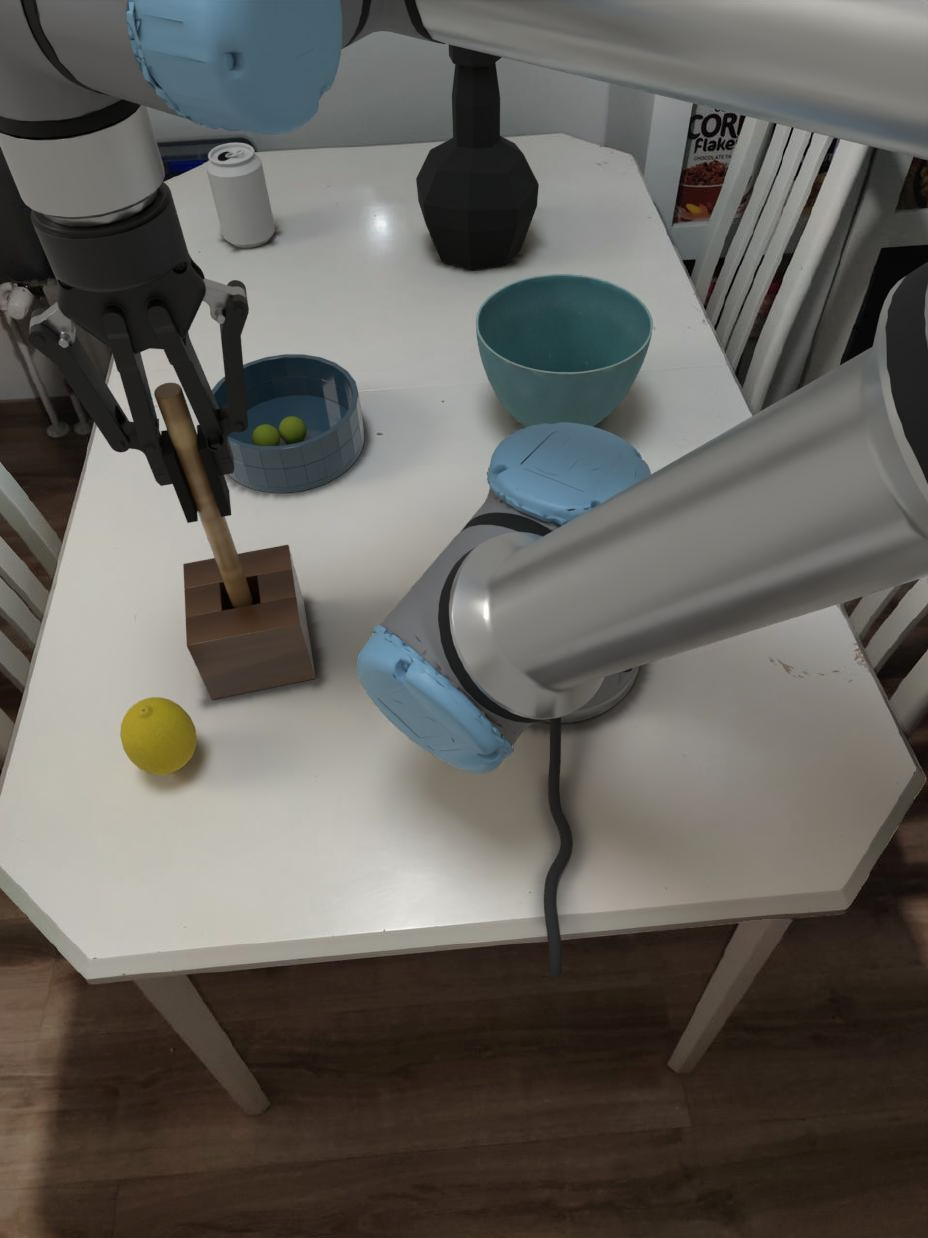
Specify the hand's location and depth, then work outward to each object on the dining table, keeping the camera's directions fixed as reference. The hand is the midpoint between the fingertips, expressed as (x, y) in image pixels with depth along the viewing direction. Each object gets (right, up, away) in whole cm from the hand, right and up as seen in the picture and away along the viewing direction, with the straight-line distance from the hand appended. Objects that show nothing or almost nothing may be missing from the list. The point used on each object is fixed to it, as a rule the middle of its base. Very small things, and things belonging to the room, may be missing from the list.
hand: (208, 506), depth 65 cm
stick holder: (0, -11, +14) cm, 18 cm away
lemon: (-5, -20, +7) cm, 22 cm away
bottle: (+21, +44, +57) cm, 75 cm away
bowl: (0, +11, +32) cm, 34 cm away
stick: (0, -7, +9) cm, 11 cm away
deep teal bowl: (+30, +15, +34) cm, 48 cm away
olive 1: (-2, +11, +29) cm, 31 cm away
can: (-12, +47, +60) cm, 77 cm away
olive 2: (0, +12, +30) cm, 32 cm away
